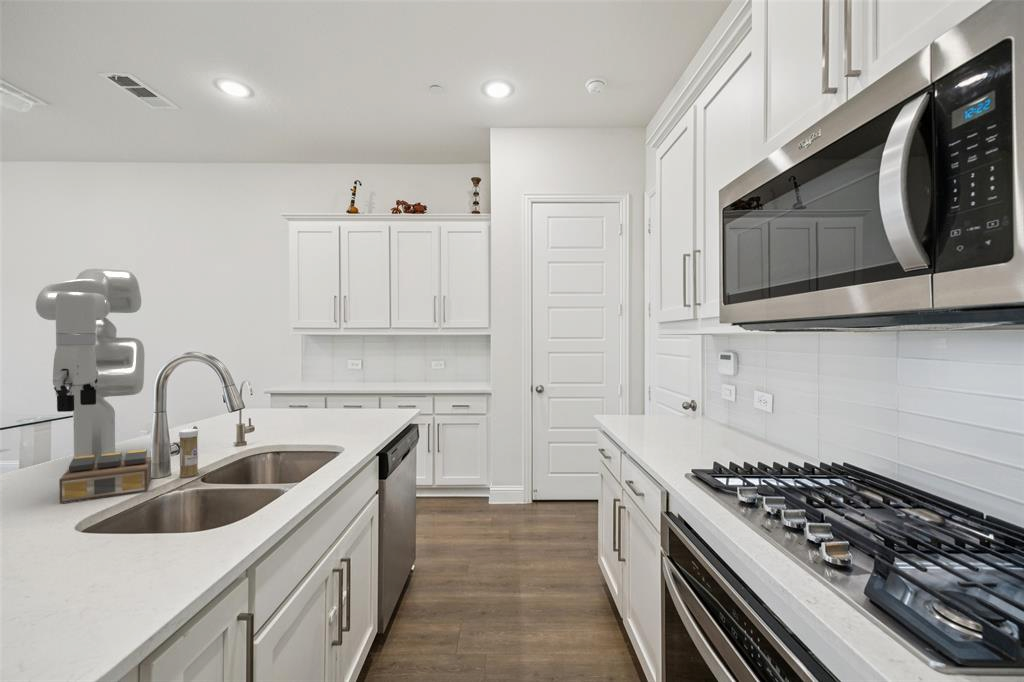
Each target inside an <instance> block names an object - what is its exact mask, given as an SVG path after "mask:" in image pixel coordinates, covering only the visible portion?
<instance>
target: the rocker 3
mask: <svg viewBox="0 0 1024 682" xmlns="http://www.w3.org/2000/svg"><path fill="white" fill-rule="evenodd" d="M147 455H148V449H139V450H132V451H131V450H130V451H126V453H125V457H124V459H123V460H124V465H131V464H140V463H145V461H146V458H148V457H147Z"/></svg>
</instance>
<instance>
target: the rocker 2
mask: <svg viewBox="0 0 1024 682" xmlns="http://www.w3.org/2000/svg"><path fill="white" fill-rule="evenodd" d="M122 458H123V452H122V451H121V452H120V451H119V452H115V453H109V454H101V456H100V458H99V460H98V463H97V468H105V467H114V466H119V465H120V464H121V460H123V459H122Z"/></svg>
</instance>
